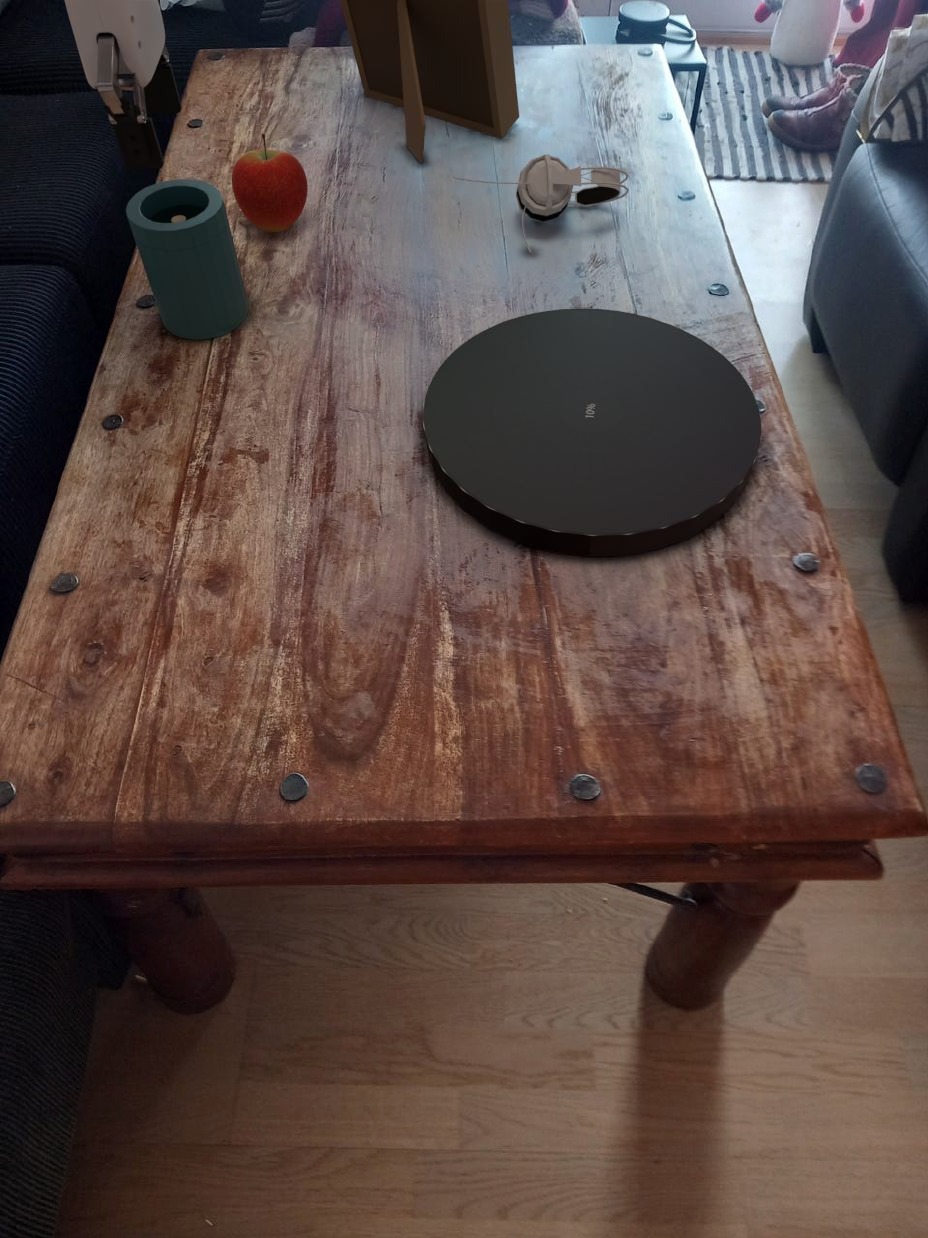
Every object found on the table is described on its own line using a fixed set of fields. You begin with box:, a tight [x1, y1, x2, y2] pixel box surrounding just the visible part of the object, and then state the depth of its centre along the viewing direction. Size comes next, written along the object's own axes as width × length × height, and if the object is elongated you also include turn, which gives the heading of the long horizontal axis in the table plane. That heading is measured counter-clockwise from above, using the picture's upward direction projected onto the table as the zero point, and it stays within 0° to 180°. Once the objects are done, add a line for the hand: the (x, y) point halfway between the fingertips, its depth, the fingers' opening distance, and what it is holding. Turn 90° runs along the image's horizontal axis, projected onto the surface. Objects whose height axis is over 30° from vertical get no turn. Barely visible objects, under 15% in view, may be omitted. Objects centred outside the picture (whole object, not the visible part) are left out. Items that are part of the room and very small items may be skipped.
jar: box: [125, 178, 250, 341], centre depth 91 cm, size 9×9×12 cm
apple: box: [231, 133, 309, 233], centre depth 102 cm, size 8×8×10 cm
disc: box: [422, 307, 762, 558], centre depth 83 cm, size 30×30×3 cm
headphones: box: [452, 154, 630, 254], centre depth 101 cm, size 8×10×20 cm
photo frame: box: [340, 0, 520, 163], centre depth 108 cm, size 15×22×25 cm
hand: (155, 138), depth 82 cm, fingers open, 9 cm apart
